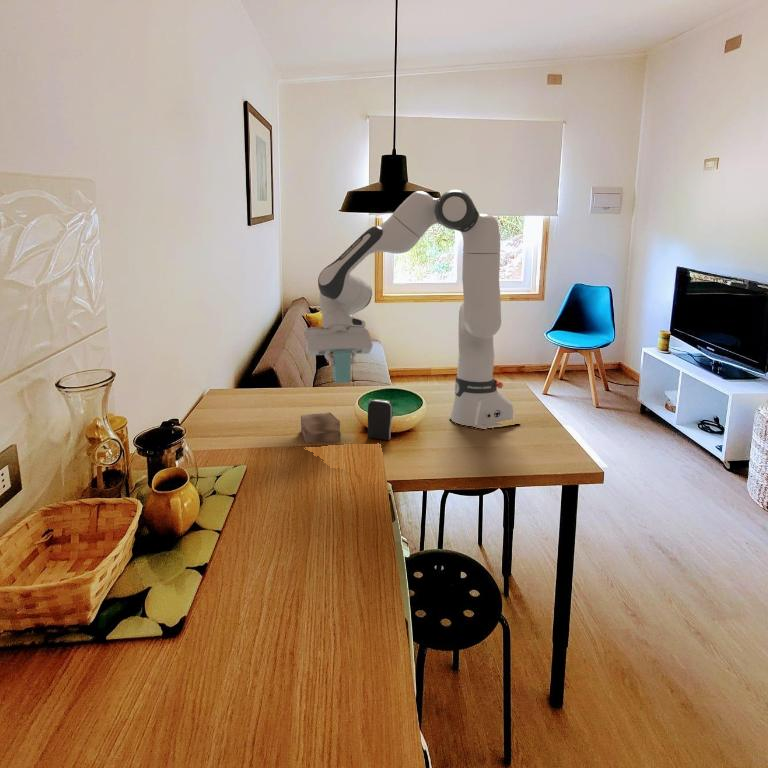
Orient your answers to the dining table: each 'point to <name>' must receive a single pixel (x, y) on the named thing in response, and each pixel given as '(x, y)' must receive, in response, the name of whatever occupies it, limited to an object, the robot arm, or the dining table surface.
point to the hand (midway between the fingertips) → (342, 364)
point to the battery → (380, 419)
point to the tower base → (320, 436)
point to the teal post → (341, 366)
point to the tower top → (320, 423)
